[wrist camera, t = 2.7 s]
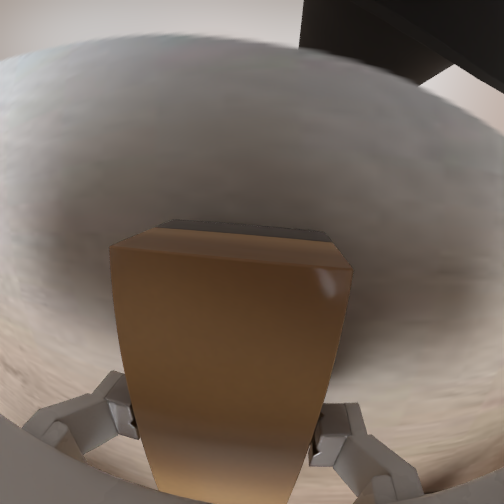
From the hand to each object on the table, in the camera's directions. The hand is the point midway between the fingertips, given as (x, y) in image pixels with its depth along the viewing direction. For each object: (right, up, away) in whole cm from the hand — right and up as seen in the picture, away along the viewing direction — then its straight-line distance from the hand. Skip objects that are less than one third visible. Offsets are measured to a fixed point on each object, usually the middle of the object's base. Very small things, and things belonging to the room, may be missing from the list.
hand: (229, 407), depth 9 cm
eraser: (0, 0, +2) cm, 2 cm away
